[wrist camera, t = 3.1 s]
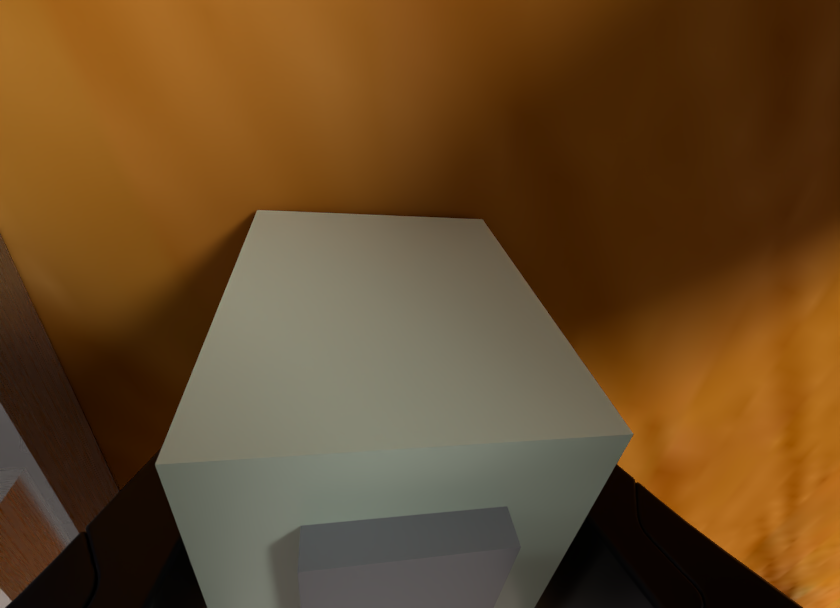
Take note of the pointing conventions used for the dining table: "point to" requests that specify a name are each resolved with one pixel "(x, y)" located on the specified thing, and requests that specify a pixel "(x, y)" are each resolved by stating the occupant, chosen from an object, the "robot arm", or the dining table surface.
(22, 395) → the rail
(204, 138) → the dining table surface
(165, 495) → the robot arm
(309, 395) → the module
